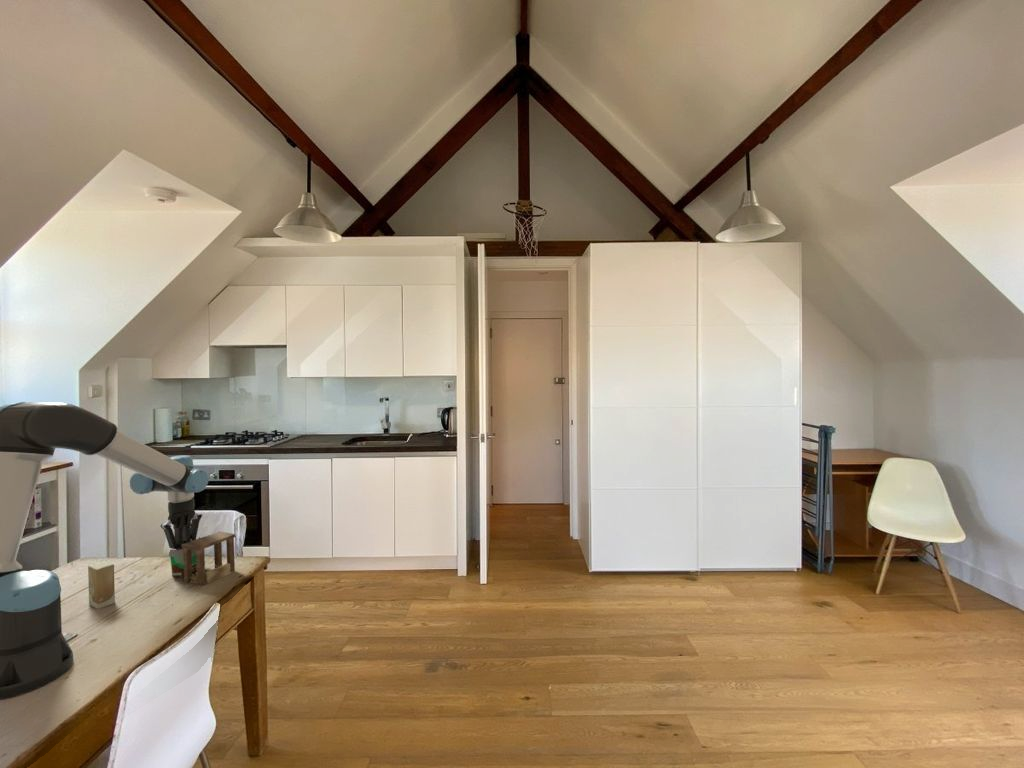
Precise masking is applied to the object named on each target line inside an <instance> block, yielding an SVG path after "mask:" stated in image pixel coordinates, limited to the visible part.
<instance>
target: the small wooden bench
mask: <svg viewBox="0 0 1024 768" xmlns="http://www.w3.org/2000/svg"><path fill="white" fill-rule="evenodd" d="M198 538H199V539H198ZM198 538H196V540H194V541H191V542H188V543H185V544H182V548H183V556H184V577H183V581H184V583H186V584H189V583H195V584H197V586H198V587H202V586H204V585H206V584H210V583H212V582H215V581H217V580H220V579H221V578H223V577H226V576H228V575H230V574H231V573H233V572H235V571H236V570H235V569H236V568H235V538H236V534H235V533H230V532H224V531H218V532H214V533H211V534H207V535H205V536H203V537H202V536H201V537H198ZM225 541H226V542H225ZM222 542H225V543H226V545H225V546H226V563H225V564H223V552H222V551H223V549H222V548H223V547H222ZM212 546H213V550H214V551H213V552H214V557H213V558H214V568H213V569H211V570H208V571H206V563H205V562H206V561H205V559H206V557H205V556H206V555H205V549H206V548H209V547H212ZM191 550H196V562H197V573H196V575H194V574H193V575H192V551H191Z"/></svg>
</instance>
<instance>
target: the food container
mask: <svg viewBox="0 0 1024 768" xmlns="http://www.w3.org/2000/svg"><path fill="white" fill-rule="evenodd" d="M199 538H200V537H198V538H197V539H199ZM191 551H192V575H193V576H194V575H196V574H197V562H196V550H191ZM168 557H169V558H170V563H171V564H170V565H171V575H172V576H171V577H172V578H184V556H183V548H182V547H181V548H179V549H177V550H176V549H170V550H169V553H168Z"/></svg>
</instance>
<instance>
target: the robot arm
mask: <svg viewBox="0 0 1024 768" xmlns="http://www.w3.org/2000/svg"><path fill="white" fill-rule="evenodd" d="M56 449H63V450H70V451H75V452H78V453H80V454H84V455H87V456H94V455H96V456H98V457H101V458H104V459H105V460H107V461H110V462H112V463H115V464H117V465H119V466H121V467H123V468H126V469H128V470H130V471H132V472H134V473H133V474H132V475H131V477H130V478H129V487H130V490H132V492H133V493H134V494H136V495H145V494H150V493H153V492H161V493H162V492H165V493H167V501H168V502H167V508H168V509H167V510H168V511H167V512H168V518H167V520H166V521H165V522H164V523H161V524H160V528H161V529H162V531H163V532H164V535H165V538H166V540H167V541H166V542H167V544H168V547H169V549H171V550H177V549H179V548H181V547H182V544H185V543H188V542H191V541H194V540H196V539H197V536H198V531H199V524H200V520H201V518H203V514H201V513H197V512H196V511H195V507H196V506H195V498H194V497H195V493H201V492H202V491H204V490H205V489H206V487H207V486H208V483H209V478H210V477H209V474H208V472H207V471H205V469H200V468H195V466H194V462H193V461H194V460H193V457H192V456H191V455H184V454H183V455H174V456H167V455H165V454H163V453H162V452H160V451H158V450H156V449H154V448H152V447H150V446H148V445H146V444H144V443H142V442H141V441H139V440H136V439H135V438H133V437H131V436H129V435H128V434H125V433H123V432H121V431H120V430H119V429H118V426H117V424H115V423H113V422H112V421H109V420H108V419H105V418H104V417H102V416H100V415H98V414H96V413H94V412H92V411H89V410H87V409H85V408H83V407H80V406H77V405H75V404H71V403H66V402H62V401H61V402H57V401H56V402H46V401H45V402H44V401H43V402H41V401H39V402H36V401H21V402H13V403H12V402H11V403H8V404H4V405H2V406H0V700H6V699H9V698H14V697H17V696H20V695H23V694H26V693H29V692H31V691H34V690H36V689H39V688H41V687H43V686H45V685H47V684H49V683H51V682H53V681H55V680H56V679H58V678H60V677H61V676H63V675H64V674H65V673H66V672H68V671H69V670H70V669H71V667H72V666H73V664H74V653H73V650H72V648H71V646H70V645H69V643H68V640H67V639H66V638H65V636H64V634H63V630H62V629H63V627H62V603H61V602H62V601H61V600H62V599H61V592H62V586H61V584H60V579H59V576H58V574H56V572H53V571H51V570H47V569H33V570H23V565H22V564H20V563H19V562H18V561H17V557H18V556H17V555H18V554H19V550H20V546H21V542H22V539H23V535H24V532H25V527H26V525H27V520H28V517H29V513H30V510H31V508H32V507H31V506H32V504H33V500H34V499H33V498H34V496H35V492H36V488H37V484H38V481H39V478H40V475H41V474H40V473H41V470H42V467H43V464H44V463H45V462H46V461H48V460H49V459H52V458H53V457H54V454H55V450H56ZM172 526H173V527H172Z"/></svg>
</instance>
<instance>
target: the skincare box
mask: <svg viewBox="0 0 1024 768" xmlns="http://www.w3.org/2000/svg"><path fill="white" fill-rule="evenodd" d="M87 568H88V569H87V572H88V574H87V575H88V604H89V605H90V606H92V608H95V609H97V610H98V609H101V608H102V609H103V608H104V607H108V606H110V605H113V604H115V603H116V593H115V592H116V590H115V588H116V587H115V564H114V563H112V562H110V561H107V560H101V561H98V562H95V563H91V564H88V565H87Z"/></svg>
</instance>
